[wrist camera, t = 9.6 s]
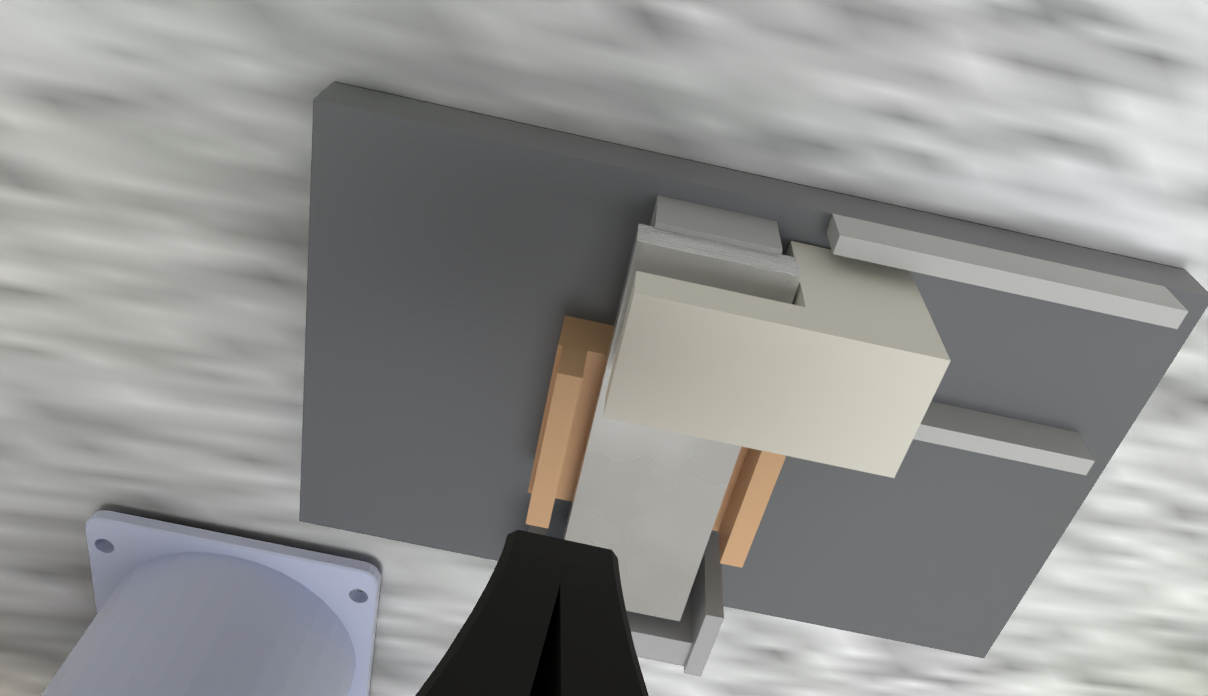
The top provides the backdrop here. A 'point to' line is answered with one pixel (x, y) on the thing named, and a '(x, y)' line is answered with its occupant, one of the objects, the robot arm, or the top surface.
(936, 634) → the mount board
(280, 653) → the robot arm
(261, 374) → the top surface
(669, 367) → the latch
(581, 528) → the grey flat bar
